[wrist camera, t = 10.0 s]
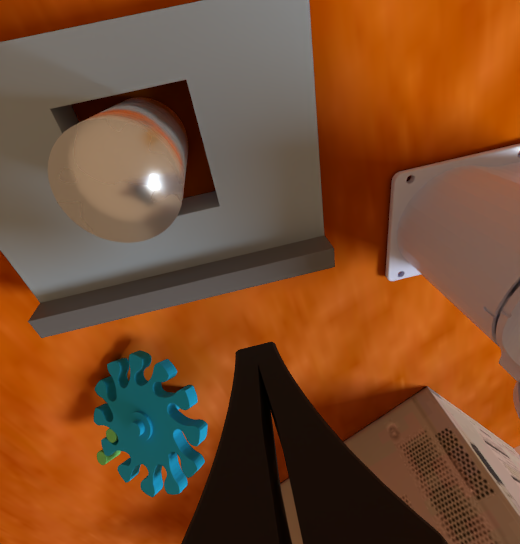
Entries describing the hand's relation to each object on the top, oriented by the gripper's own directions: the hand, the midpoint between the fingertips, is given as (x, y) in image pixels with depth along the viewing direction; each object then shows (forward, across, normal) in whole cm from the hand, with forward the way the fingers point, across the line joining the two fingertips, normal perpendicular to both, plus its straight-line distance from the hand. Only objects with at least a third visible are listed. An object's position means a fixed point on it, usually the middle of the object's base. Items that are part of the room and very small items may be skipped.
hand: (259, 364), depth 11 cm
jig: (+10, +3, -5) cm, 11 cm away
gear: (+10, +10, +11) cm, 18 cm away
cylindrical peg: (+10, +3, -6) cm, 12 cm away
